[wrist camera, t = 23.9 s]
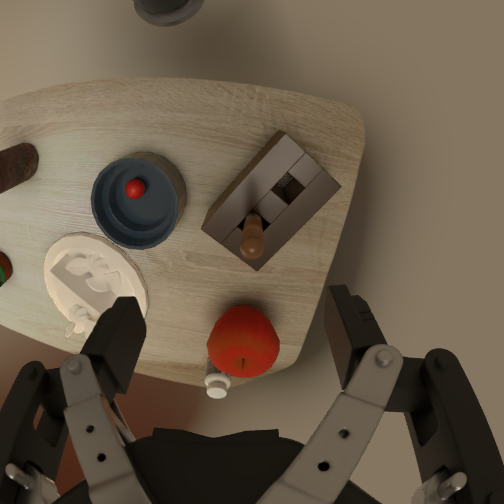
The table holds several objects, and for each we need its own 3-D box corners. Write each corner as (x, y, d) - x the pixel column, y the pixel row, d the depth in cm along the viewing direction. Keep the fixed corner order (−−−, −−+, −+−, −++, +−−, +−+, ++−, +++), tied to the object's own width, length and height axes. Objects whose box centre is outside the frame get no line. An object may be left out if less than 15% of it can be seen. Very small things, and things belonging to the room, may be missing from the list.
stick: (244, 210, 47) (234, 249, 26) (254, 201, 47) (253, 233, 26) (253, 220, 48) (250, 267, 27) (263, 211, 47) (269, 251, 26)
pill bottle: (204, 362, 63) (199, 396, 54) (212, 347, 61) (207, 382, 52) (227, 368, 64) (225, 403, 55) (235, 354, 62) (234, 389, 53)
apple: (206, 329, 58) (197, 383, 46) (221, 282, 53) (213, 336, 41) (263, 343, 60) (266, 397, 47) (285, 300, 55) (293, 354, 42)
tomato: (149, 196, 45) (147, 176, 44) (139, 199, 42) (137, 178, 41) (132, 198, 45) (130, 179, 44) (122, 201, 42) (120, 181, 41)
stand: (208, 210, 47) (200, 229, 40) (279, 129, 41) (285, 133, 34) (256, 247, 50) (257, 271, 43) (327, 174, 44) (341, 186, 37)
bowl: (94, 202, 46) (77, 213, 41) (135, 134, 41) (120, 138, 36) (156, 249, 50) (145, 266, 45) (204, 187, 45) (197, 198, 40)
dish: (171, 316, 57) (158, 357, 47) (91, 343, 61) (73, 376, 51) (103, 211, 47) (70, 237, 37) (29, 260, 51) (1, 288, 41)
